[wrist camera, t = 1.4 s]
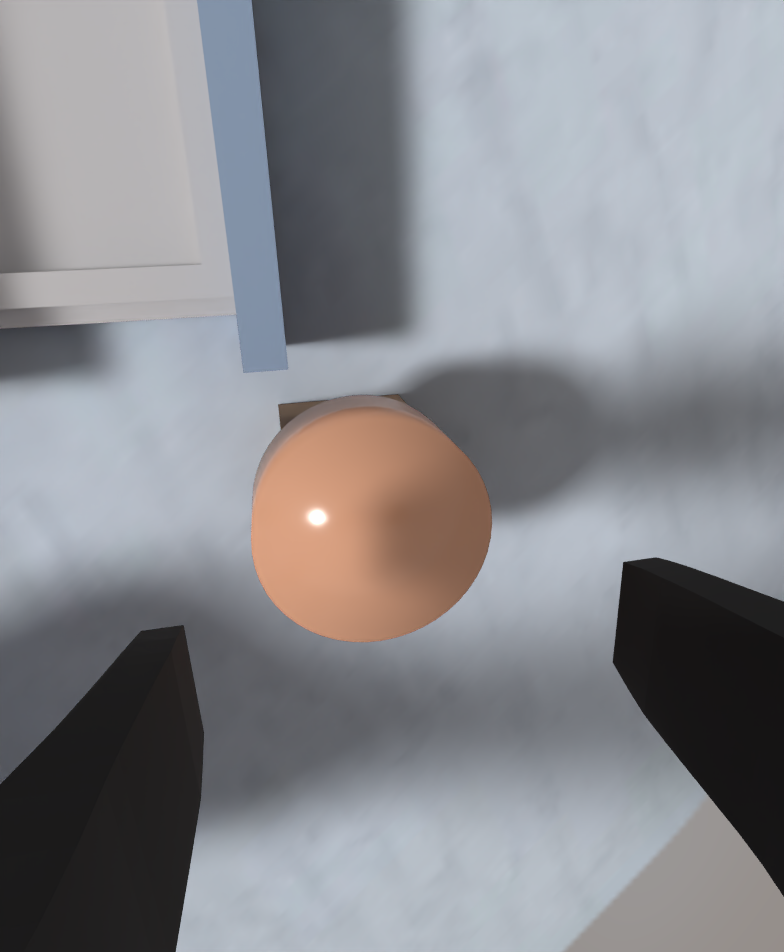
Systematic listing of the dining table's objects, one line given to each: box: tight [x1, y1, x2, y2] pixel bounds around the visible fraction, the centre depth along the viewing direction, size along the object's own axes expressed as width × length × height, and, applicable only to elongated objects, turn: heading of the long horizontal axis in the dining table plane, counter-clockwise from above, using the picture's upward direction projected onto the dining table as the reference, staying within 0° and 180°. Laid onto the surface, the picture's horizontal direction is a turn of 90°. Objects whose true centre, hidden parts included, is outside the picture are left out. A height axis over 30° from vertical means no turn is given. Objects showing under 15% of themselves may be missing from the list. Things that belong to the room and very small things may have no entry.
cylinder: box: [251, 395, 492, 642], centre depth 15 cm, size 5×5×2 cm
